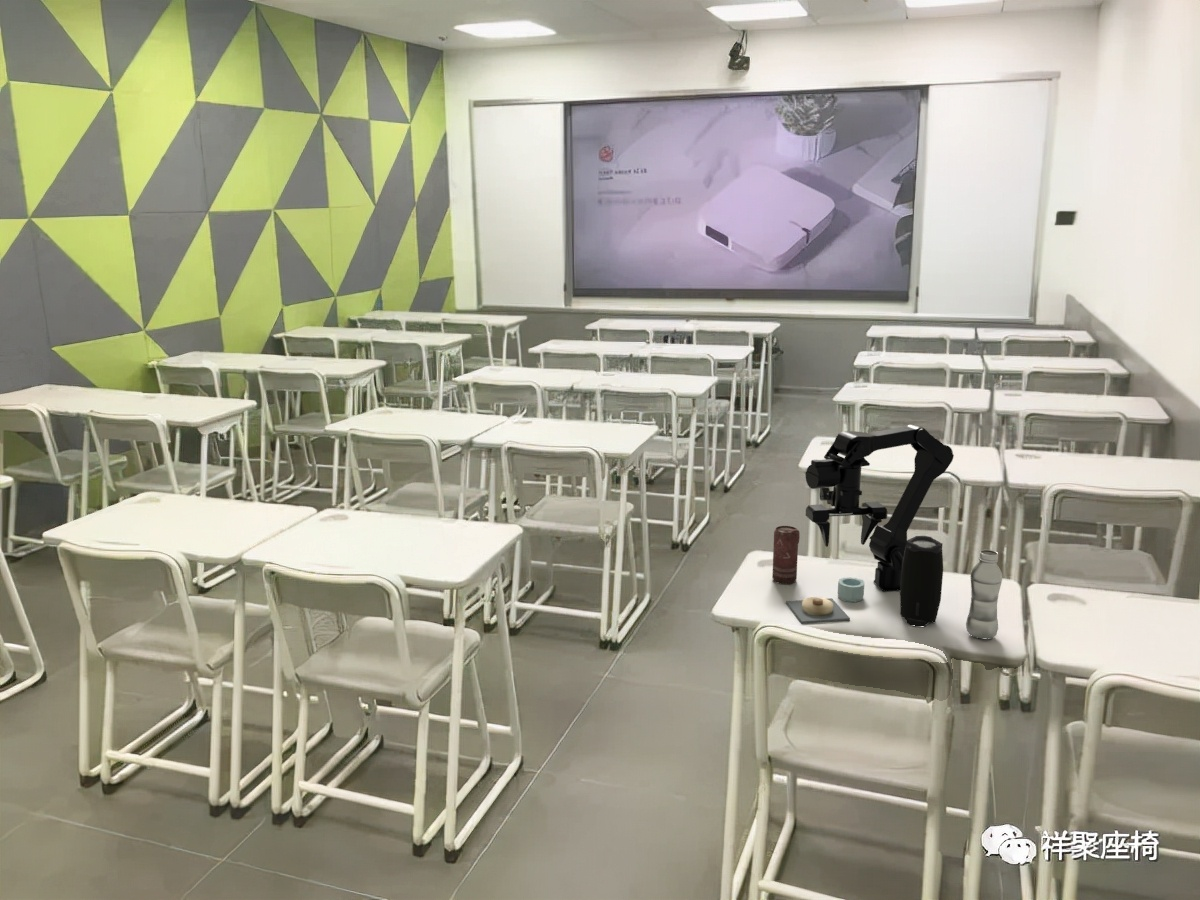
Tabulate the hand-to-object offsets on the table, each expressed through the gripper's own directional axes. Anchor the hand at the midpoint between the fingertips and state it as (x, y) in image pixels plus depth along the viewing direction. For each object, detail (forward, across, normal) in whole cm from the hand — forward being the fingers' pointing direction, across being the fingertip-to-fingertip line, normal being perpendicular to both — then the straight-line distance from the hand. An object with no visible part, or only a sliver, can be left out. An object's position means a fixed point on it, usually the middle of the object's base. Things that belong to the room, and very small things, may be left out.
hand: (844, 545), depth 231 cm
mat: (+13, +10, +9) cm, 18 cm away
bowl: (+13, -2, +2) cm, 13 cm away
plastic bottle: (+13, -22, +27) cm, 37 cm away
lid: (+12, +10, +9) cm, 18 cm away
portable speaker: (+13, -12, +17) cm, 25 cm away
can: (+13, +11, -11) cm, 20 cm away
